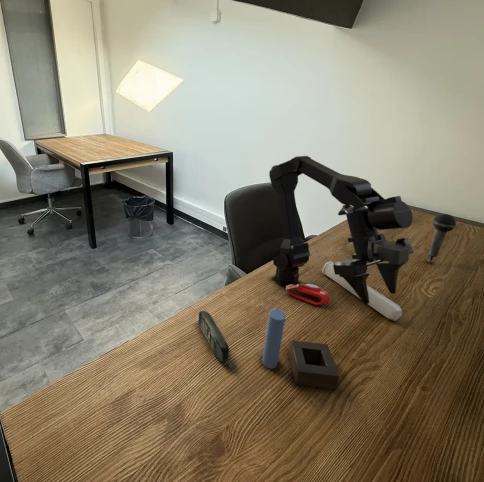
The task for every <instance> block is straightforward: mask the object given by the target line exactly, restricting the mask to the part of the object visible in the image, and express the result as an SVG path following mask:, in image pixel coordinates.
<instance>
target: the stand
mask: <svg viewBox="0 0 484 482" xmlns="http://www.w3.org/2000/svg"><path fill="white" fill-rule="evenodd" d="M289 344H290V345H289V349H288V355H289V356H288V357H289V360H290V364H291V368H292V373H293V378H294V383H295V385H296V386H303V387H311V388H312V387H313V388H318V389H319V388H320V389H329V390H337V387H338V383H339V379H340V374H339V370H338V369H337V365H336V362H335V360H334V358H333V355H332V353H331V350H330V347H329V345H328V343H320V342H311V341H303V340H290V343H289ZM306 362H308V363H316V364H318V365H316V364H315V365H314V364H307V363H306Z"/></svg>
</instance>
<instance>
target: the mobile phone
mask: <svg viewBox="0 0 484 482" xmlns="http://www.w3.org/2000/svg"><path fill="white" fill-rule="evenodd" d="M197 322H198V327H199V328H200V330H201V332H202V334H203V336H204V337H205V339H206V341H207V342H208V345H209V347H210V350H211V352H212V353H213V355H214V356H215V357H216V358H217V359H218V360H219V362H225V363H226V364H227V365H228V367H229V368H230V369H231V368H232V367H233V365H232V363H231V362H230V361H229V356H230V349H229V344H228V342H227V341H226V338H225V335H224V333H223V332H222V330H221V328H220V327H219V325H218V324H217V323H216V321H215V319H214V318H213V317H212V315H211V313H210V312H208V311H206V310H201V311H200V310H199V312H198V321H197Z"/></svg>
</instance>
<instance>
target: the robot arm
mask: <svg viewBox="0 0 484 482" xmlns="http://www.w3.org/2000/svg"><path fill="white" fill-rule="evenodd" d="M268 174H269V180H270V185H271V187H272V188H273V189H274V191H275V192H276V193H277V198H278V205H279V213H280V221H281V228H282V236H283V239H282V242H281V244H280V246H279V255H277V256H274V257H273V258H272V264H273V265H274V266H275V267H276V271H275V275H274V276H273V277H271V280H272V281H274V282H275V283H276V284H278V285H279V286H281V287H282V288H284V289H285V290H286V288H287V287H286V286H288V285H291V284H294V285H297V284H299V285H300V280H299V278H300V273H299V271H300V267H301V268H302V267H304V266H305V265H306V264H307V263H309V260H310V256H311V252H310V246H309V243H308V242H304V240H303V238H302V237H301V232H300V226H299V216H298V209H297V202H296V201H297V200H296V194H295V191H296V188H297V186H298V184H299V176H301V175H305V176H306V177H308V178H310V179H311V180H313V181H314V182H317V183H318V184H320V185H322V186H324V187H325V188H326V189H328V190H329V192H330V195H331V197H333V198H335V199H336V200H337V201H338V202H339V203H341V204H342V207H341V209H340V210H339V211H338V212H337V215H338V216H346V219H347V220H346V221H347V224H348V228H349V233H350V237H347V241H348V243H352V245H353V250H354V253H353V254H351V258H344V259H340V260H338V261H335V262H333V263H334V265H333V268H334V272H335V274H336V275H339V276H340V277H343V278H344V279H345V280H346V281H347V282H348V283H349V285H350V286H351V287H352V288H353V289H354V291H355V292H356V293H357V295H358V296H359V297H360V298H361V299H360V298H359V299H360V300H361V301H362V302H363V304H367V305H368V304H369V295H368V290H367V285H368V284H367V280H368V278H369V276H370V273H367V271H368V267H370V266H374V265H376V267H377V269H378V271H379V273H380V275H381V278H382V279H383V282H384V284H385V286H386V288H387V290H388V291H389V293H390V294H393V295H394V294H396V293H397V284H398V276H399V270H400V269H401V268H402V267H403V266H404V265H406V263H408V262H409V260H410V258H409V257H410V254H413V253H414V249H413V245H412V243H411V241H410V239H409V238H407V237H399V238H397V239H395V240H387V239H386V235H385V234H383V233H384V232H381V233H379V231H378V230H380V231H383V230H397V229H407V228H409V227H411V225H412V223H413V219H414V218H413V211H412V209H411V208H410V207H409V205H408V204H407V203H406V202H404V201H403V200H402V197H401V195H396V196H391V197H387V198H384V197H383V196H382V195H381V194H380V193H379V192H378V191H377V190H376V189H374V188H373V187H372V184H371V182H370V181H368V179H365V178H360V177H358V176H354V175H348V174H343V173H340V172H338V171H336V170H334V169H332V168H330V167H328V166H326V165H324V164H322V163H320V162H318V161H316V160H314V159H312V157H310V156H308V155H298V156H294V157H292V158H291V159H289V160H287V161H285V162H284V161H283V162H282V163H279V164H275V165H273V166H271V168H270V170H269V171H268Z"/></svg>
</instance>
